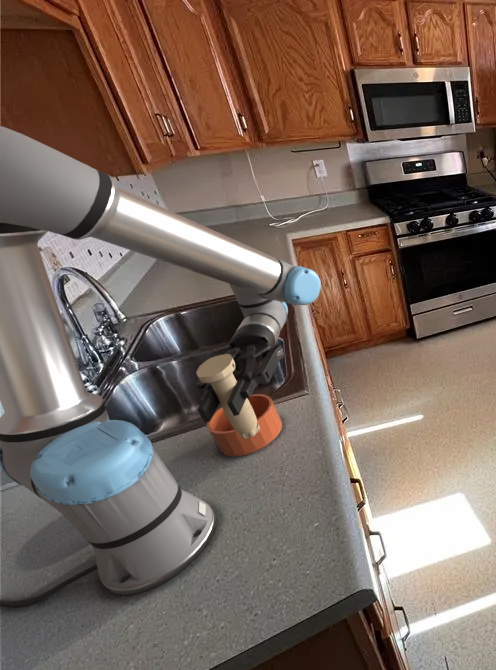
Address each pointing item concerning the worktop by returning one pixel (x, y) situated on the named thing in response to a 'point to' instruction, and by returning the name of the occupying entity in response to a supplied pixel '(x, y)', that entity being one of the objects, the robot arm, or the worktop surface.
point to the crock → (238, 446)
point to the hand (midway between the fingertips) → (218, 412)
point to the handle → (228, 393)
